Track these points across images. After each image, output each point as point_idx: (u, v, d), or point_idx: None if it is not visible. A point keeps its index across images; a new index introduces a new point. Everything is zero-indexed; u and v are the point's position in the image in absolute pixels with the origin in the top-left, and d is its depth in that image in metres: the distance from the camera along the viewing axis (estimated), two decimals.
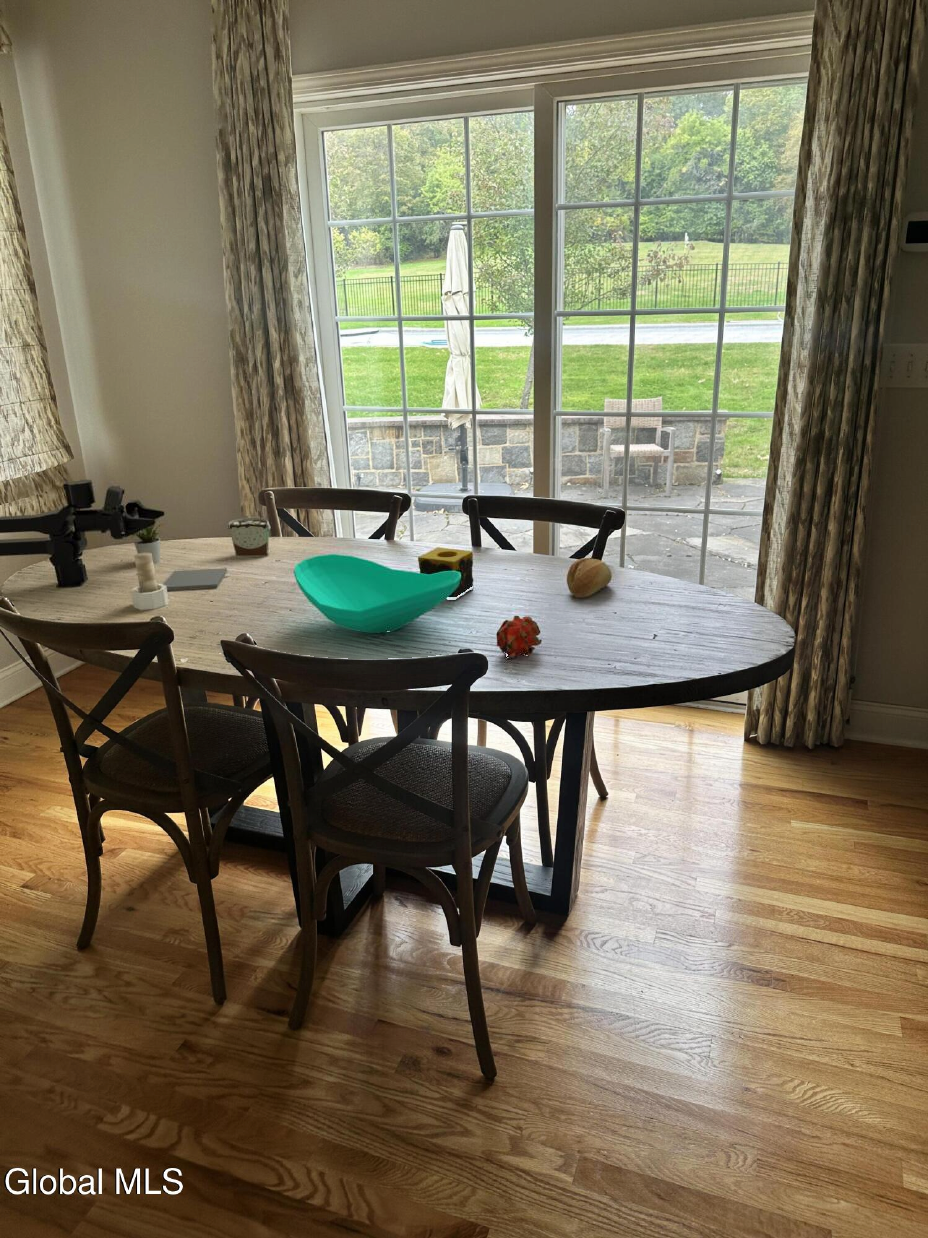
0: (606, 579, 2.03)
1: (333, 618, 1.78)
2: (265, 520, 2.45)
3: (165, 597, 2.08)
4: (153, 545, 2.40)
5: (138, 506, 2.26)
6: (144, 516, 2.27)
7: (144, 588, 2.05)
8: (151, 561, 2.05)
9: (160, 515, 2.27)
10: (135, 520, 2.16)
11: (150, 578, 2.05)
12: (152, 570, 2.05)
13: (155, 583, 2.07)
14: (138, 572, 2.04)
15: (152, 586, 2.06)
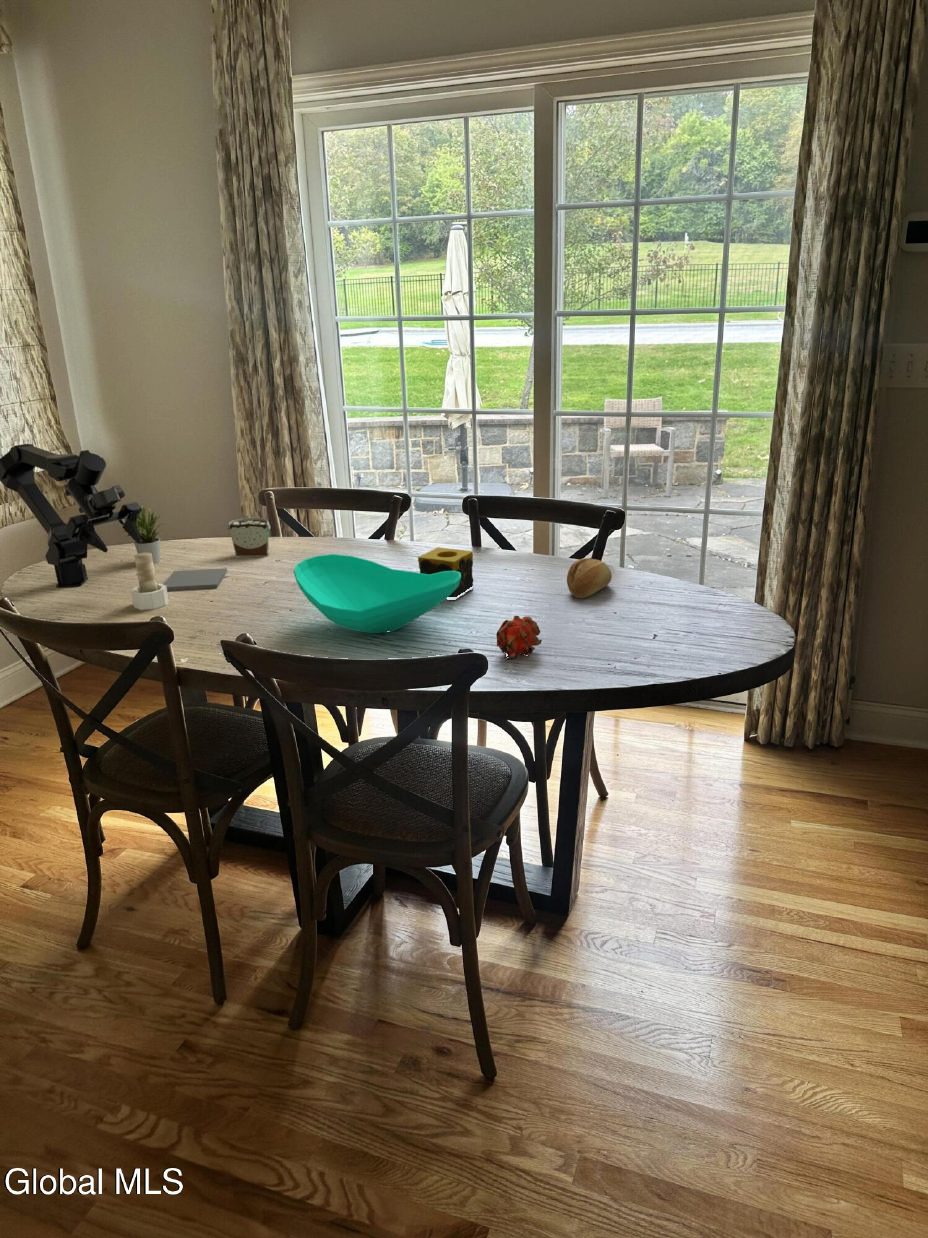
0: (606, 579, 2.03)
1: (333, 618, 1.78)
2: (265, 520, 2.45)
3: (165, 597, 2.08)
4: (153, 545, 2.40)
5: (129, 516, 2.12)
6: (127, 526, 2.13)
7: (144, 588, 2.05)
8: (151, 561, 2.05)
9: (136, 540, 2.12)
10: (92, 536, 2.04)
11: (150, 579, 2.05)
12: (152, 570, 2.05)
13: (155, 583, 2.07)
14: (138, 572, 2.04)
15: (152, 586, 2.06)
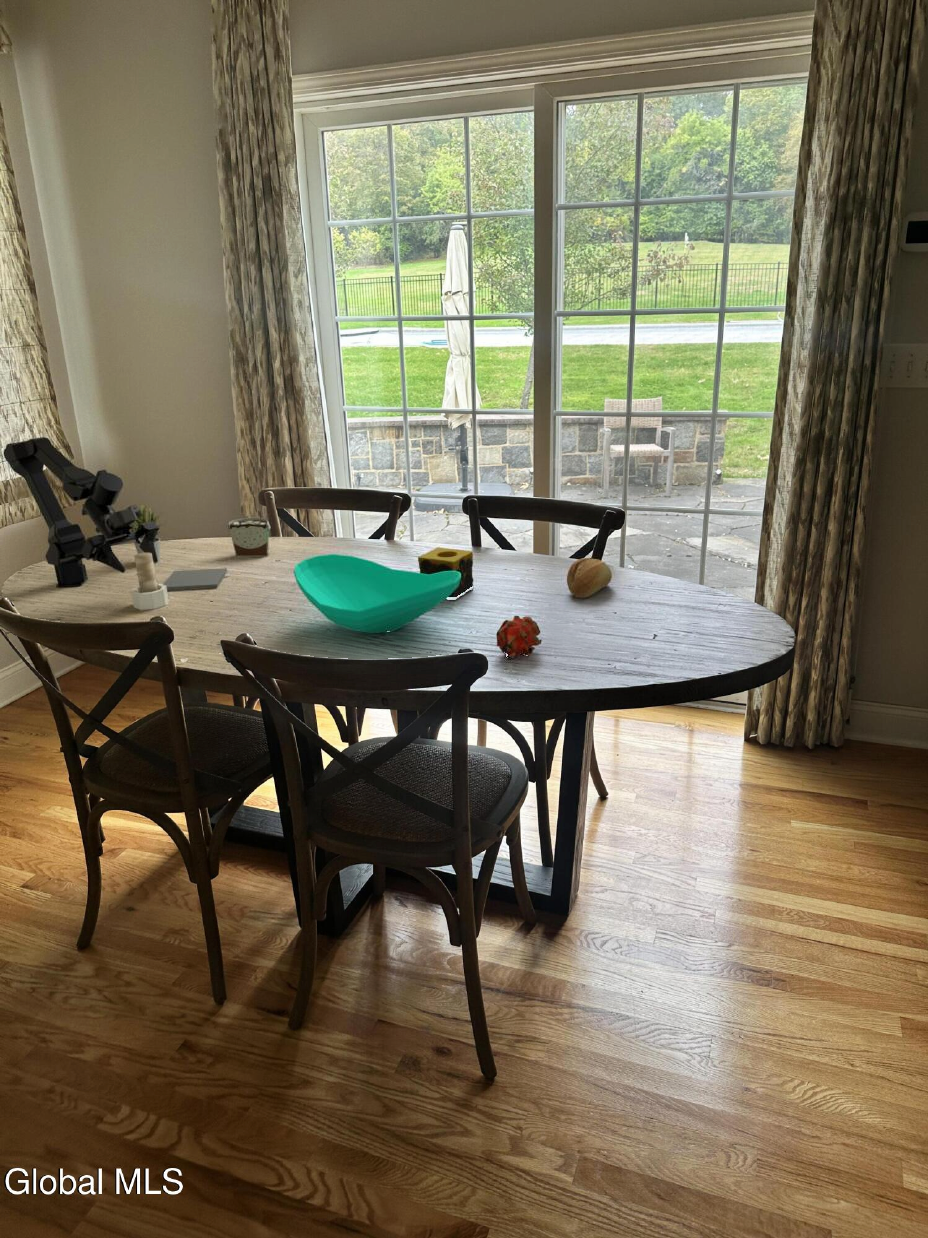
0: (606, 579, 2.03)
1: (333, 618, 1.78)
2: (265, 520, 2.45)
3: (165, 597, 2.08)
4: None
5: (146, 536, 2.10)
6: (144, 546, 2.11)
7: (144, 588, 2.05)
8: (151, 561, 2.05)
9: (153, 560, 2.10)
10: (109, 556, 2.02)
11: (150, 578, 2.05)
12: (152, 570, 2.05)
13: (155, 583, 2.07)
14: (138, 572, 2.04)
15: (152, 586, 2.06)
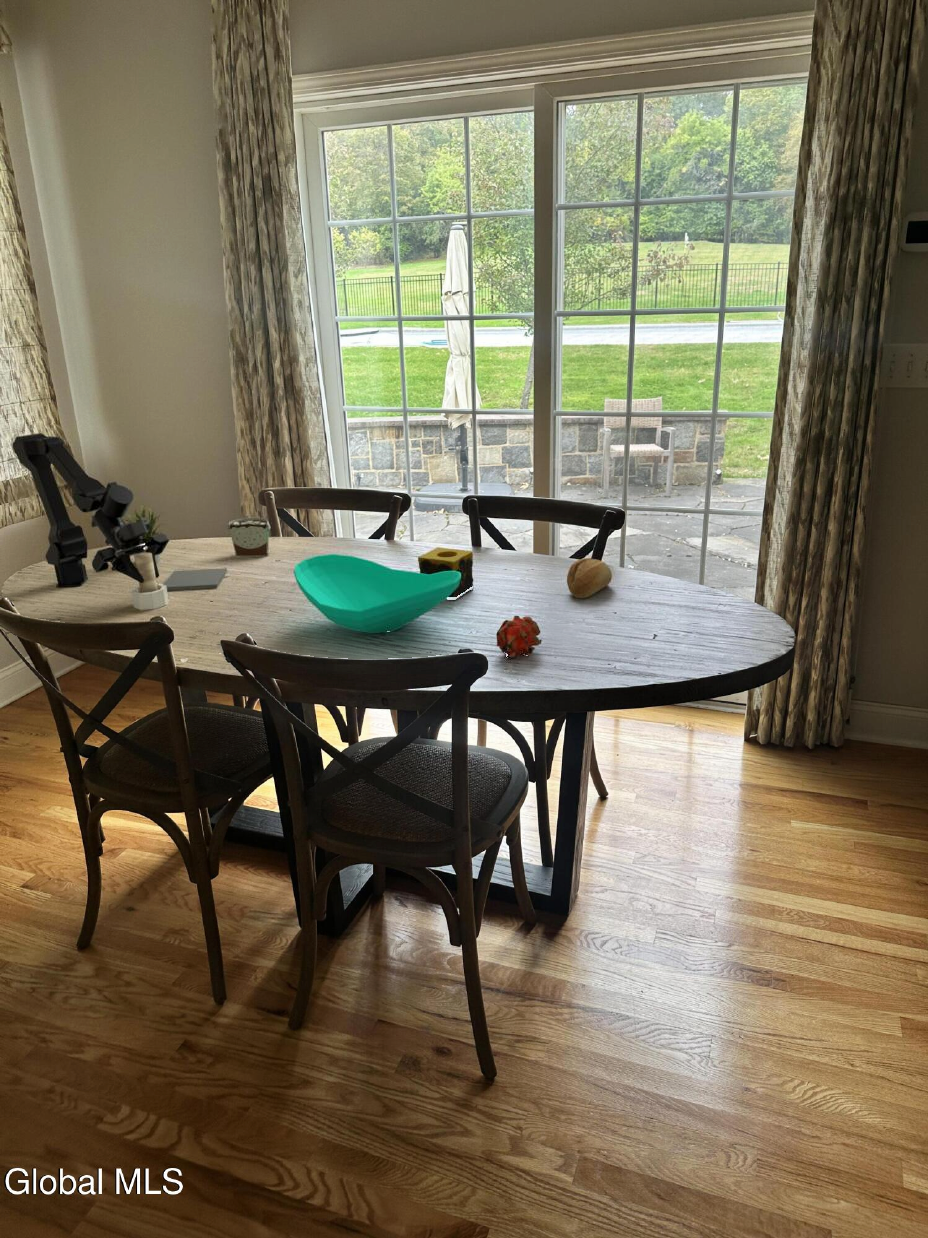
0: (606, 579, 2.03)
1: (333, 618, 1.78)
2: (265, 520, 2.45)
3: (165, 597, 2.08)
4: None
5: (147, 550, 2.07)
6: None
7: (144, 588, 2.05)
8: (151, 561, 2.05)
9: None
10: (128, 567, 2.03)
11: (150, 579, 2.05)
12: (152, 570, 2.05)
13: (155, 583, 2.07)
14: None
15: (152, 586, 2.06)
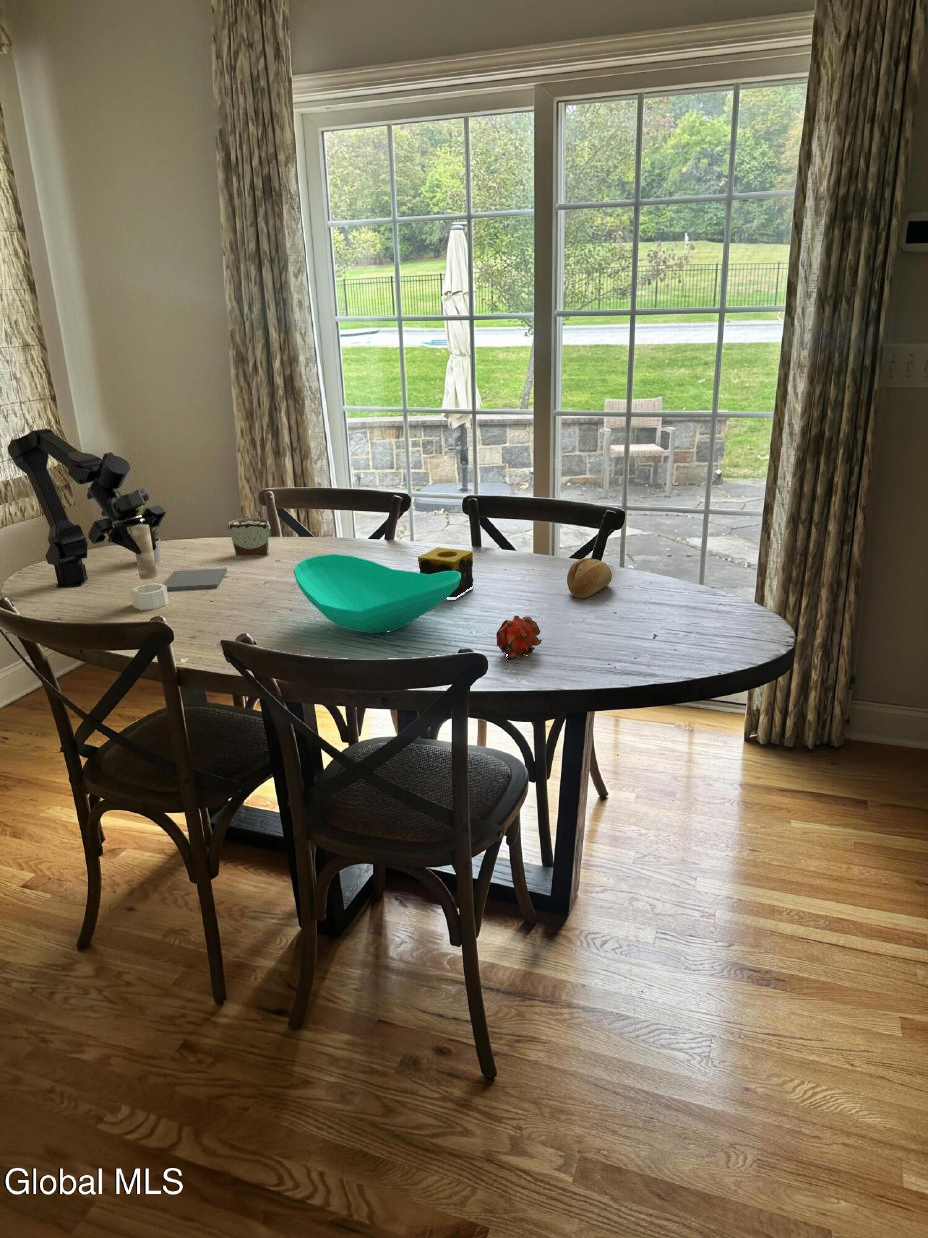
0: (606, 579, 2.03)
1: (333, 618, 1.78)
2: (265, 520, 2.45)
3: (165, 597, 2.08)
4: None
5: (144, 522, 2.05)
6: None
7: (141, 560, 2.03)
8: (148, 532, 2.02)
9: None
10: (125, 538, 2.01)
11: (147, 550, 2.03)
12: (149, 542, 2.03)
13: (152, 555, 2.05)
14: None
15: (149, 558, 2.04)
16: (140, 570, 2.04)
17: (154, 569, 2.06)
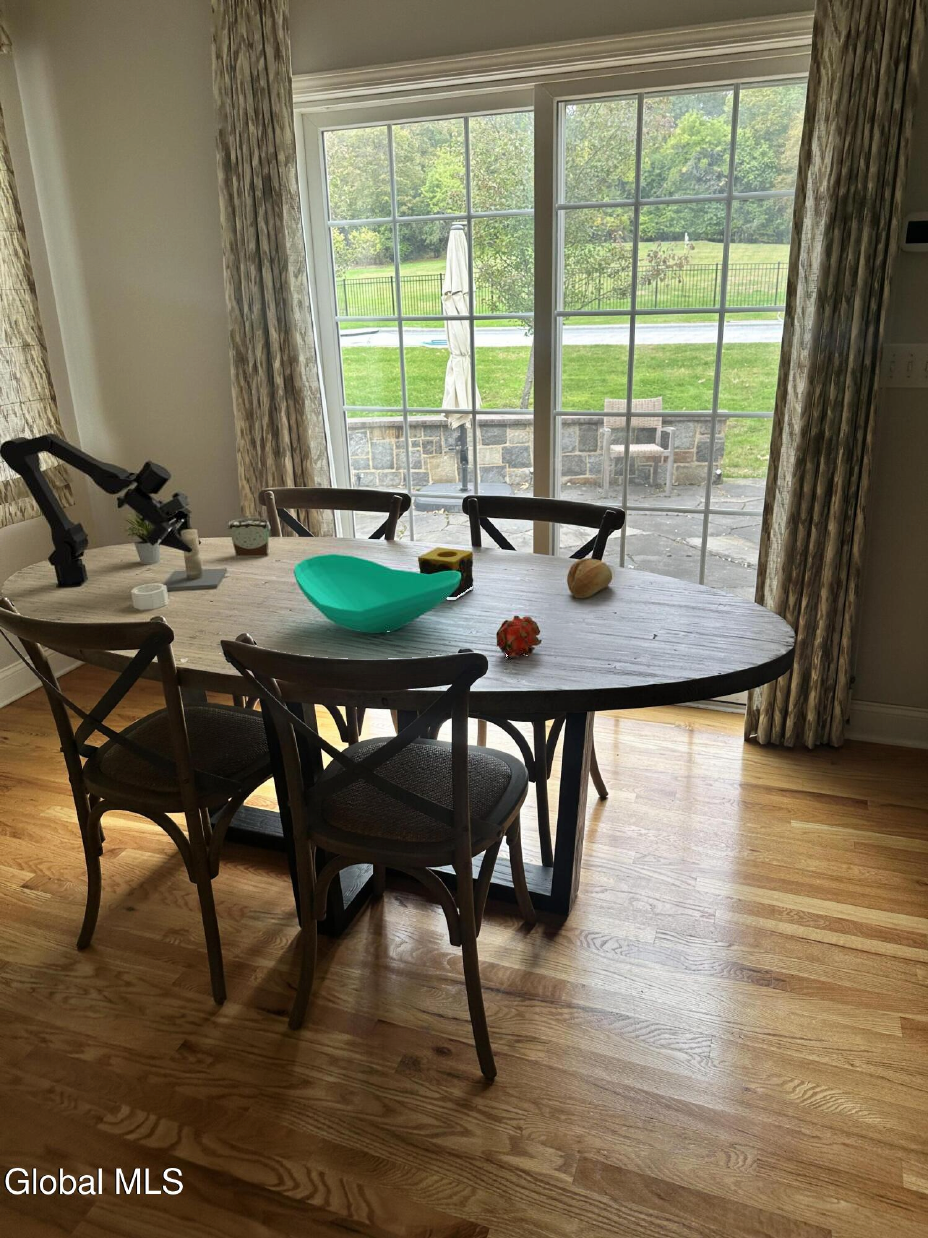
0: (606, 579, 2.03)
1: (333, 618, 1.78)
2: (265, 520, 2.45)
3: (165, 597, 2.08)
4: None
5: (185, 521, 2.23)
6: None
7: (193, 562, 2.21)
8: (197, 536, 2.21)
9: None
10: (177, 539, 2.16)
11: (198, 552, 2.22)
12: (198, 544, 2.22)
13: None
14: None
15: (199, 559, 2.23)
16: (191, 571, 2.22)
17: (201, 569, 2.25)
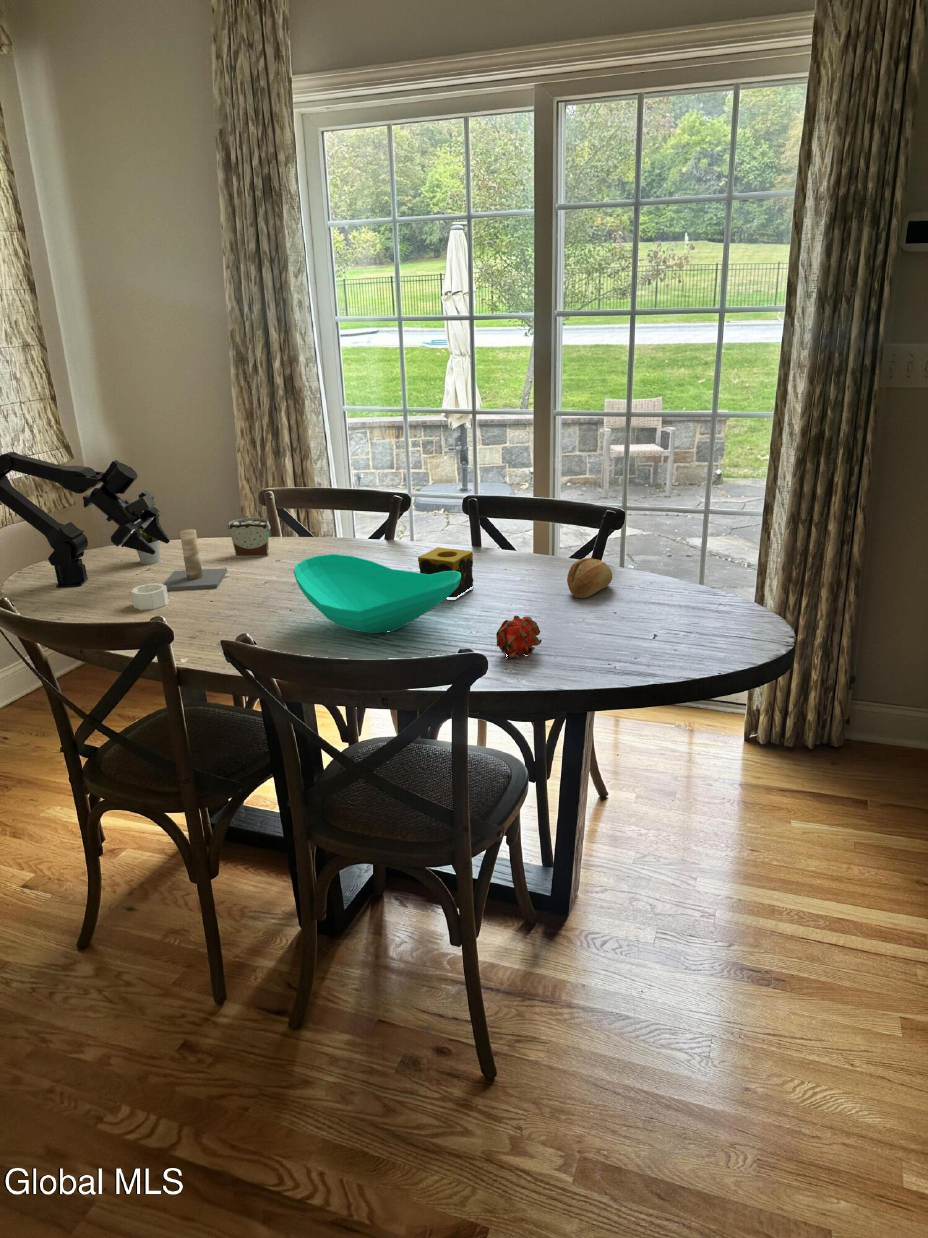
0: (606, 579, 2.03)
1: (333, 618, 1.78)
2: (265, 520, 2.45)
3: (165, 597, 2.08)
4: (153, 545, 2.40)
5: (154, 519, 2.25)
6: (151, 530, 2.26)
7: (193, 562, 2.21)
8: (196, 536, 2.21)
9: (164, 541, 2.26)
10: (140, 541, 2.16)
11: (197, 552, 2.22)
12: (197, 544, 2.22)
13: (199, 556, 2.24)
14: (187, 547, 2.20)
15: (199, 559, 2.23)
16: (191, 571, 2.22)
17: (201, 569, 2.25)
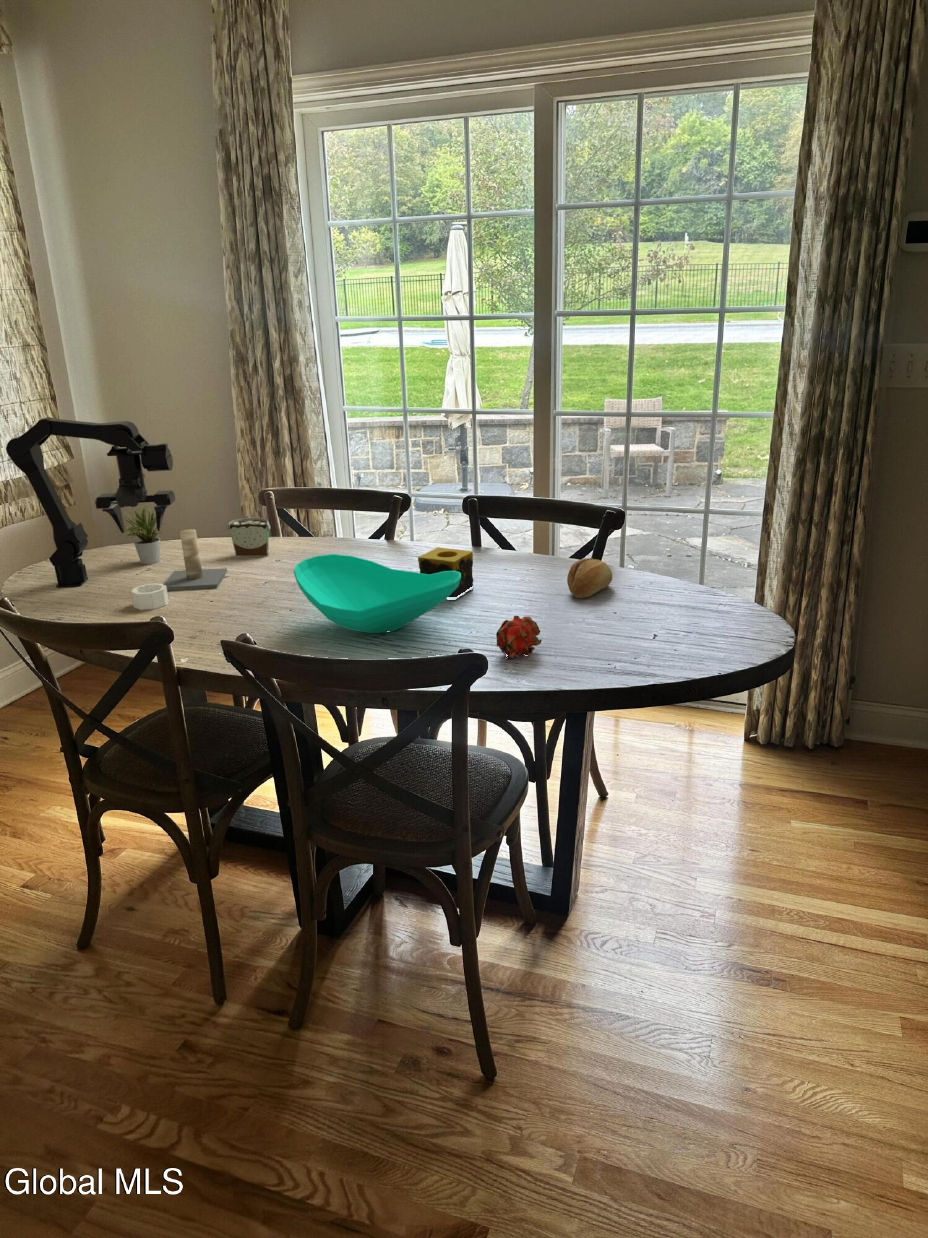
0: (607, 579, 2.03)
1: (333, 618, 1.78)
2: (265, 520, 2.45)
3: (165, 597, 2.08)
4: (153, 545, 2.40)
5: None
6: None
7: (193, 562, 2.21)
8: (196, 536, 2.21)
9: None
10: None
11: (197, 552, 2.22)
12: None
13: (199, 556, 2.24)
14: (187, 547, 2.20)
15: (199, 559, 2.23)
16: (191, 571, 2.22)
17: (201, 569, 2.25)
